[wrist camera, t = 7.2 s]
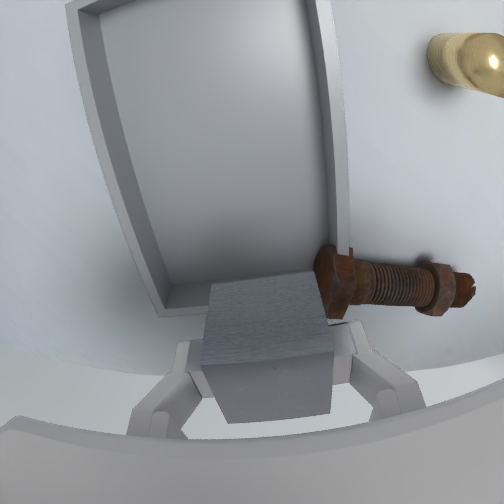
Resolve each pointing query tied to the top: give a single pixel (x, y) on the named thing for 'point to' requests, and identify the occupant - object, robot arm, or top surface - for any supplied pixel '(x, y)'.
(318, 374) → the steel block
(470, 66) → the brass cylinder
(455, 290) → the bolt
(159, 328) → the top surface
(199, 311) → the parts tray
